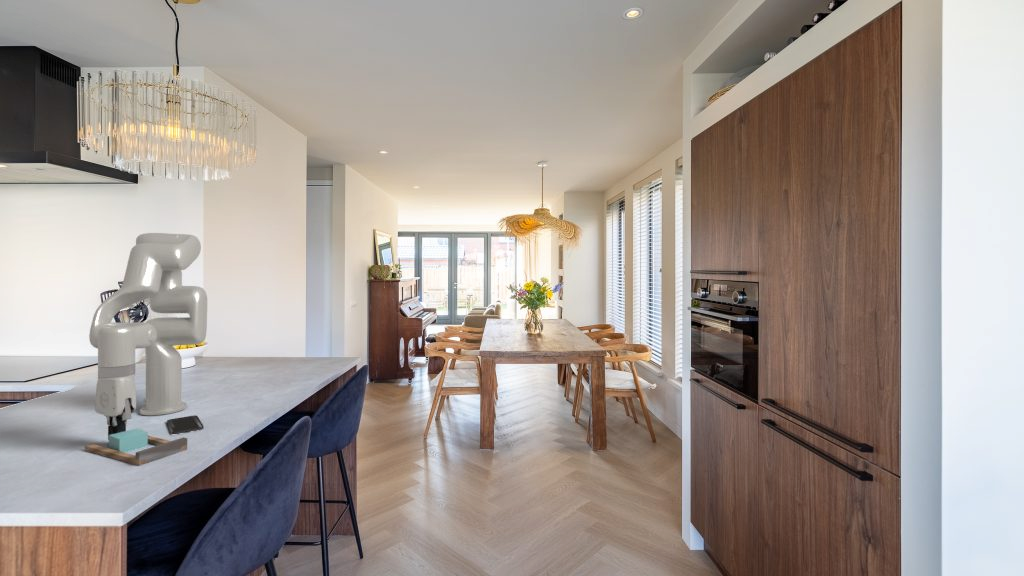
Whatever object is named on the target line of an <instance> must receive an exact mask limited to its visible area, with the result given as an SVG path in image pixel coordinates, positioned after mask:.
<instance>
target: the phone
mask: <svg viewBox="0 0 1024 576" xmlns="http://www.w3.org/2000/svg"><path fill="white" fill-rule="evenodd" d="M166 425H167V427H168V430H169V433H170V432H171V433H170V434H177V435H181V434H180V433H183V434H186V433H185V432H188V433H192V432H191V431H194V432H198V431H197V430H199V431H202V429H203V430H204V424H203V422H202V421H201V420H200V418H199V416H198V415H196V414H195V415H189V416H184V417H183V416H182V417H175V418H170V419H167V420H166Z"/></svg>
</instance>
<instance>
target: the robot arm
mask: <svg viewBox="0 0 1024 576" xmlns="http://www.w3.org/2000/svg"><path fill="white" fill-rule="evenodd" d="M201 249H202V245H201V241H200V239H199V238H198V237H197V236H196V235H193V234H184V233H168V232H167V233H164V232H145V233H141V234H139V235H138V236H137V237H136V239H135V245H133V246H132V248H131V249H130V253H129V255H128V260H127V265H126V268H125V273H124V276H123V277H124V278H123V281H122V285H121V287H120V288H119V289H117V291H115V292H113V293H112V294H110V295H109V296H108V297H107V298H105V300H104V301H103V302H101V304H100V305H98V307H97V308H96V310H95V312H94V313H93V317H92V321H91V325H90V329H89V335H88V337H89V342H90V345H91V346H92V347H93V348H95V349H97V383H96V388H95V389H96V390H95V401H94V402H95V403H94V411H95V412H96V413H97V414H99V415H102V416H104V417H105V418H106V425H107V439H108V441H109V435H111V434H116V433H120V432H124V431H127V424H128V420H130V419H132V418H133V417H132V414H133V413H134V412H135V411H136V409H137V391H136V382H135V376H136V350H138V349H145V350H144V351H145V397H144V398H143V399H142V402H143V403H145V406H143V407H142V408H140V409H139V414H140V415H143V416H163V415H169V414H173V413H178V412H180V411H183V410H185V409H187V408H188V404H187V402H184V401H182V375H183V374H182V372H183V371H182V367H183V365H182V363H183V362H182V361H183V359H182V356H181V354H180V352H179V351H178V350H177V348H175V346H194V345H200V344H202V343H203V342H204V341H205V340H206V337H207V331H208V330H207V328H208V327H207V326H208V325H207V323H208V295H207V292H206V291H205V289H204V288H203V287H201V286H197V285H183V272H182V271H185V270H187V269H188V267H190V266H191V265H192V264H193V263H194V262H195V260H197V258H199V256H200V253H201ZM146 300H149V308H150V309H151V311H152V312H154V313H157V314H187V315H189V316H188V317H176V316H175V317H172V316H171V317H170V316H169V317H168V316H167V317H166V316H165V317H155V318H151V319H148V320H147V321H145V322H140V321H137V322H136V321H135V322H134V321H133V322H132V321H131V322H129V321H128V322H112V320H113V319H114V317H115V316H116V315H117V314H118V313H119V312H120V311H122V310H123V309H125V308H127V307H130V306H132V305H134V304H137V303H139V302H143V301H146Z"/></svg>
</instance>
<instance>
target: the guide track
mask: <svg viewBox="0 0 1024 576" xmlns="http://www.w3.org/2000/svg"><path fill="white" fill-rule="evenodd" d="M149 443H151V444H150V445H153V444H154V446H152V447H147V448H146V449H142V450H139V451H135V454H132V453H128V452H126V453H125V452H121V451H117V450H113V449H110V448H109V447H105V446H102V445H98V444H95V443H90V444H87V445H84V451H86V452H90V453H94V454H96V455H100V456H103V457H107V458H111V459H114V460H119V461H121V462H124V463H129V464H132V465H137V466H139V467H140V466H142V464H143V465H146V464H149V463H151V462H154V461H157V460H160V459H162V458H166V457H169V456H172V455H175V454H178V453H181V452H183V450H184V451H186V449H187V450H188V437H179V438H177V439H174V440H169V439H164V438H160V437H156V436H153V435H152V436H150V435H148V444H149ZM180 451H181V452H180ZM177 452H178V453H177ZM174 453H175V454H174ZM171 454H172V455H171ZM168 455H169V456H168ZM145 463H146V464H145Z"/></svg>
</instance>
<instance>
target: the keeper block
mask: <svg viewBox="0 0 1024 576" xmlns="http://www.w3.org/2000/svg"><path fill="white" fill-rule="evenodd" d="M148 436H149V435H148V431H145V430H142V429H140V428H133V429H132V428H131V429H128V430H126V431H124V432H120V433H116V434H111V435H109V440H108V448H110V449H113V450H117V451H121V452H126V453H128V451H130V452H132V451H131V450H133V451H136V450H135V449H137V450H140V449H143V448H142V447H144V448H146V447H145V446H148V444H149V443H148ZM139 448H140V449H139Z"/></svg>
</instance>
